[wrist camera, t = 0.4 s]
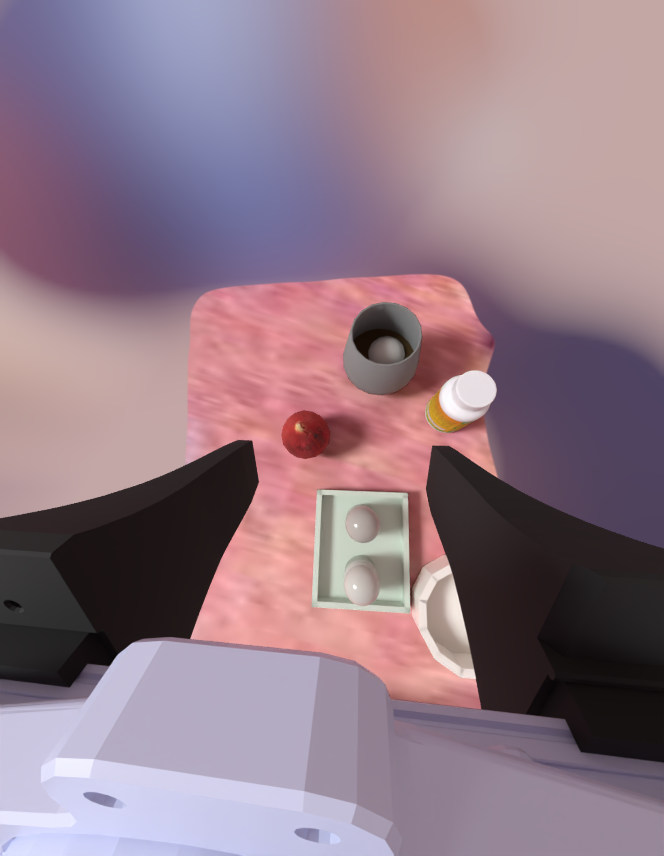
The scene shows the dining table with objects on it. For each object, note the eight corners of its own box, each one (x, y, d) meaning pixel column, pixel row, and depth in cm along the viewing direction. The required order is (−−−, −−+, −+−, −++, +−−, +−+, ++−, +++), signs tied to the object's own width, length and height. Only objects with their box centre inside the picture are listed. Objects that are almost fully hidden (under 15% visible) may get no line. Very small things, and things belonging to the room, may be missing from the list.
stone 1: (376, 536, 34) (382, 547, 28) (345, 535, 35) (344, 545, 28) (376, 504, 35) (382, 508, 29) (346, 503, 35) (345, 506, 29)
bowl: (512, 662, 31) (531, 683, 28) (413, 654, 32) (420, 674, 28) (503, 557, 33) (520, 565, 30) (410, 552, 34) (417, 559, 31)
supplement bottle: (445, 442, 37) (478, 425, 27) (415, 412, 38) (437, 387, 28) (474, 415, 37) (516, 389, 28) (444, 387, 38) (474, 353, 29)
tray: (406, 606, 33) (410, 613, 31) (313, 600, 34) (311, 606, 32) (404, 492, 36) (407, 492, 34) (318, 489, 36) (317, 489, 35)
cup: (370, 329, 41) (377, 279, 31) (424, 365, 39) (449, 324, 30) (330, 378, 40) (324, 341, 30) (384, 417, 38) (395, 392, 28)
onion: (339, 432, 38) (336, 417, 30) (317, 469, 37) (309, 463, 29) (302, 412, 39) (290, 392, 31) (281, 448, 38) (263, 437, 30)
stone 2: (376, 590, 33) (382, 613, 27) (344, 588, 33) (342, 611, 27) (376, 556, 34) (382, 570, 28) (344, 554, 34) (343, 568, 28)
